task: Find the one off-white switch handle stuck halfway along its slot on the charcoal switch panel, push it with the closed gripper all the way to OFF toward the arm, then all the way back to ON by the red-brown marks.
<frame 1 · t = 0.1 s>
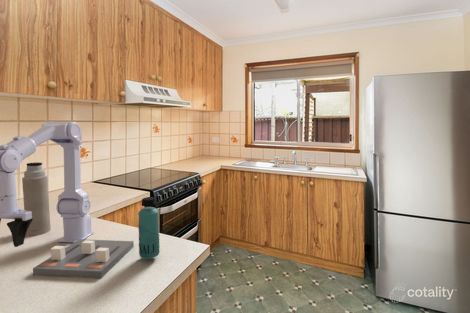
hand: (6, 244, 71), 10 cm above the worktop, tool pointing down, fingers open, 7 cm apart
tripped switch: (88, 247, 83), point 4 cm above the worktop, slide at 4.0 cm
switch panel: (89, 259, 83), on the worktop
beverage bottle: (149, 259, 84), on the worktop
thermos bottle: (38, 232, 105), on the worktop
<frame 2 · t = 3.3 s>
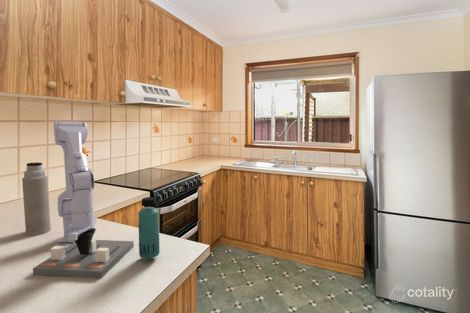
hand: (84, 253, 81), 3 cm above the worktop, tool pointing down, fingers closed
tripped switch: (89, 246, 84), point 4 cm above the worktop, slide at 3.3 cm, touching gripper
everything else where it was.
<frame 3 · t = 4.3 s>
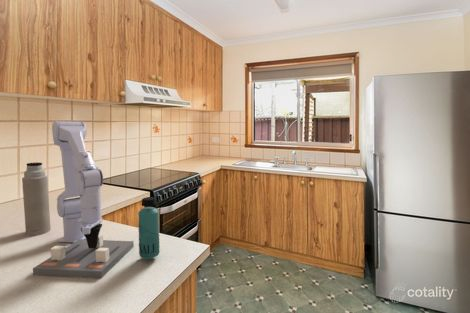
hand: (92, 247, 85), 3 cm above the worktop, tool pointing down, fingers closed
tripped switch: (97, 241, 88), point 4 cm above the worktop, slide at -0.6 cm, touching gripper
everything else where it was.
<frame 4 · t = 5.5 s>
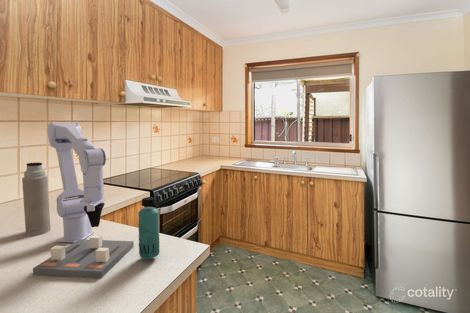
hand: (95, 226, 87), 9 cm above the worktop, tool pointing down, fingers closed
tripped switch: (96, 241, 87), point 4 cm above the worktop, slide at -0.1 cm
everything else where it was.
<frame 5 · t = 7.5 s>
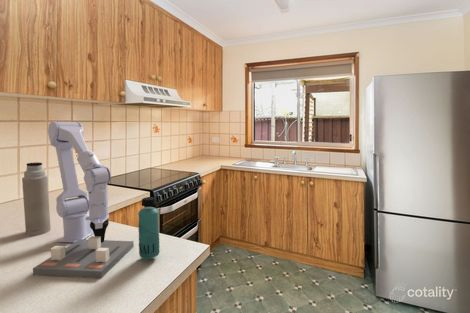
hand: (100, 242, 89), 3 cm above the worktop, tool pointing down, fingers closed
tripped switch: (94, 242, 86), point 4 cm above the worktop, slide at 0.7 cm, touching gripper
everything else where it was.
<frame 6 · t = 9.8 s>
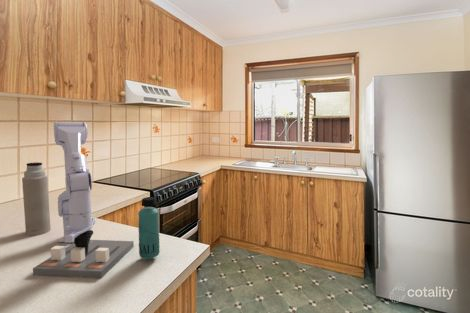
hand: (82, 255, 80), 3 cm above the worktop, tool pointing down, fingers closed, pressing on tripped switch
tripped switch: (78, 254, 78), point 4 cm above the worktop, slide at 9.0 cm, touching gripper
everything else where it was.
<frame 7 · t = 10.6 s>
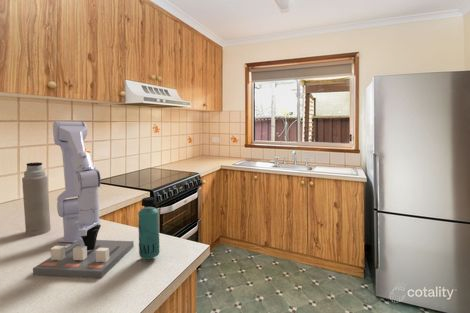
hand: (90, 249, 84), 3 cm above the worktop, tool pointing down, fingers closed
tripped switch: (80, 253, 79), point 4 cm above the worktop, slide at 8.1 cm
everything else where it was.
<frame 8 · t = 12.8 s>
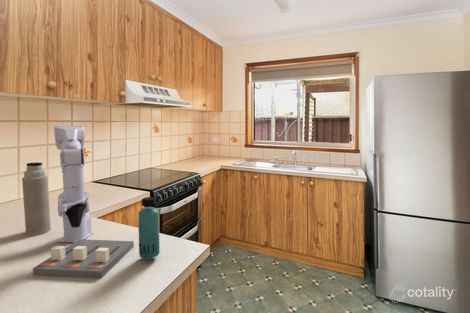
hand: (75, 226, 86), 9 cm above the worktop, tool pointing down, fingers closed
nothing on the worktop moved.
at the end: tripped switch slide at 8.1 cm; beverage bottle moved 0.2 cm from its start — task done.
